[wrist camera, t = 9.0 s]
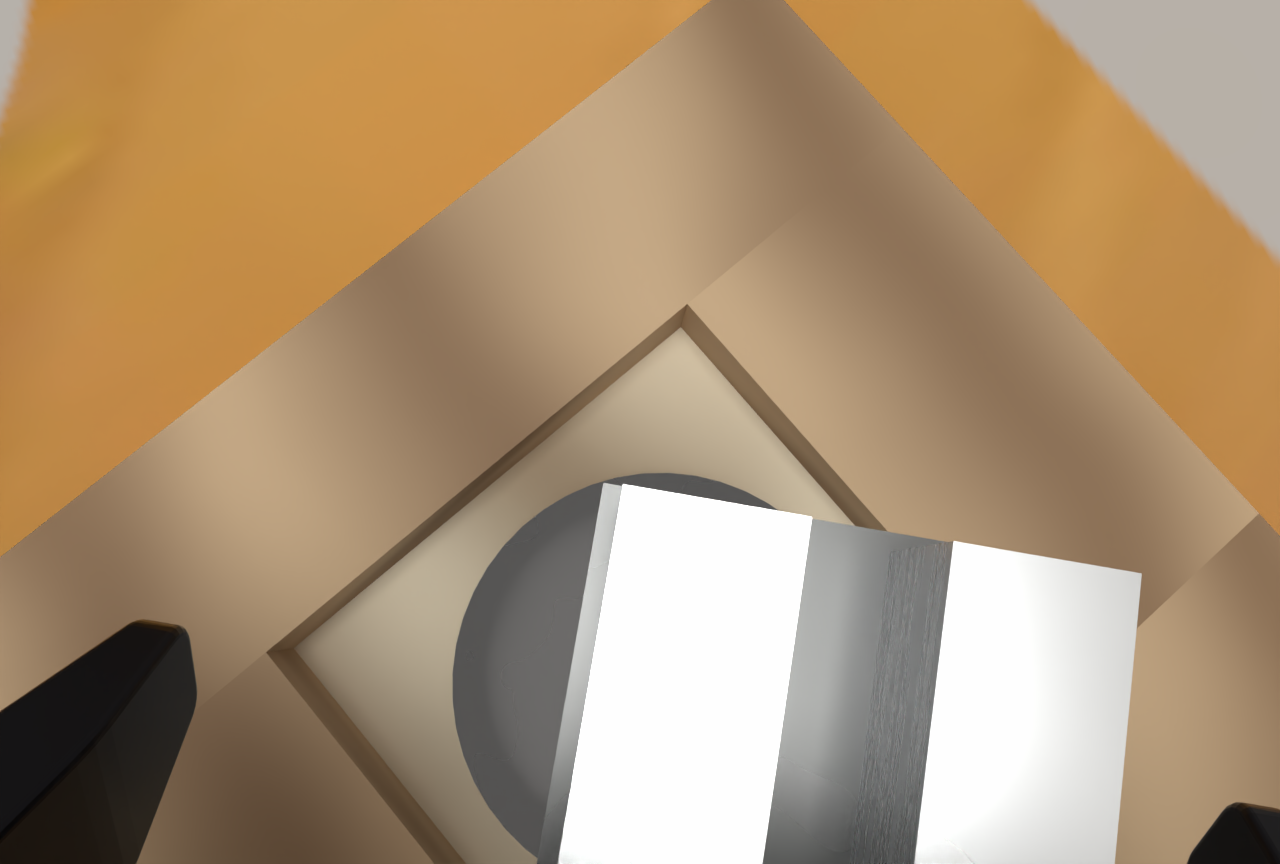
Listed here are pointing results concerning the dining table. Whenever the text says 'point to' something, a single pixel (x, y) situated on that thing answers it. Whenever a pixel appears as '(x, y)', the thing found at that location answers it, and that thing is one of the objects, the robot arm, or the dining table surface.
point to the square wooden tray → (640, 454)
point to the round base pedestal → (789, 688)
